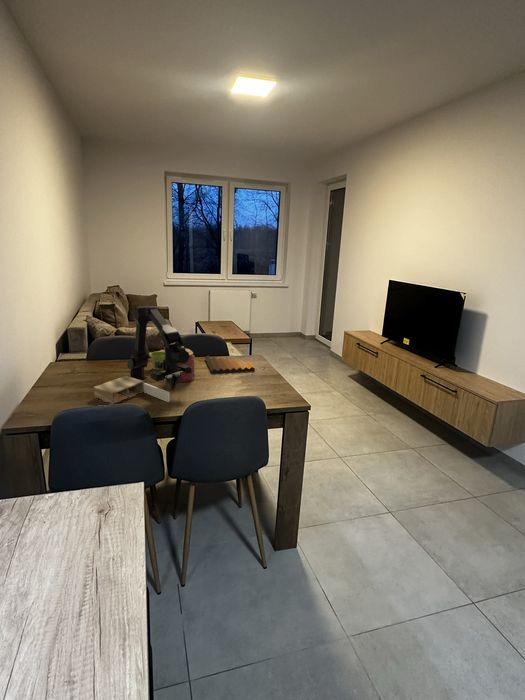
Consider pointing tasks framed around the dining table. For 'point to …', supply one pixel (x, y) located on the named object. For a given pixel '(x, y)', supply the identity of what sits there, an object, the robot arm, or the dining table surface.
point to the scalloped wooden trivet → (227, 365)
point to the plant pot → (157, 358)
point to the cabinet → (118, 388)
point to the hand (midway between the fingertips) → (172, 389)
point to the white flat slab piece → (156, 392)
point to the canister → (190, 363)
